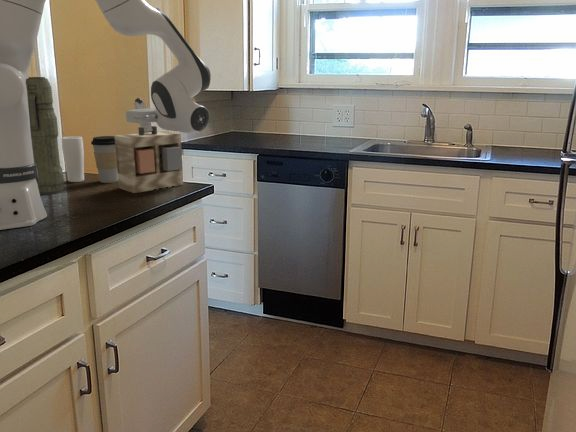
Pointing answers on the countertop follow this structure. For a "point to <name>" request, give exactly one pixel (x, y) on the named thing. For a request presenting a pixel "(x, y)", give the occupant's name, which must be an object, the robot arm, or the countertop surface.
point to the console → (160, 177)
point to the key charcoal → (171, 158)
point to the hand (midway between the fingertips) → (146, 112)
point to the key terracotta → (144, 160)
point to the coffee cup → (105, 158)
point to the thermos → (44, 135)
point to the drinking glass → (73, 157)
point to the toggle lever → (141, 105)
